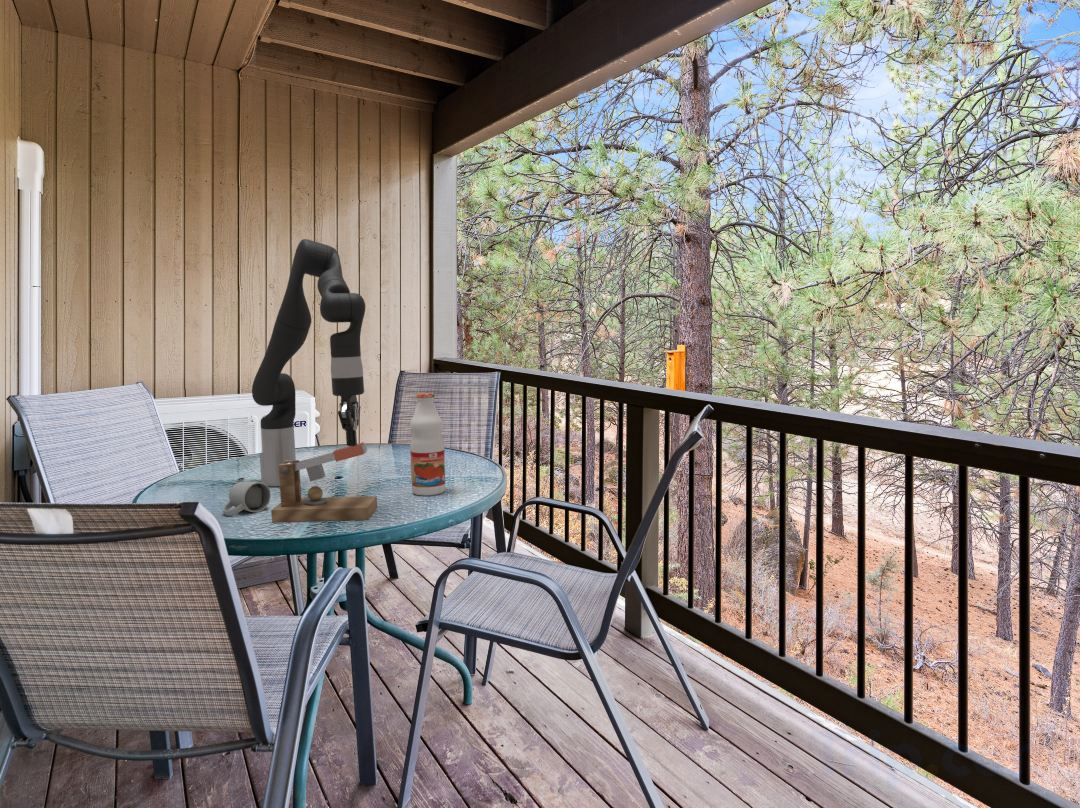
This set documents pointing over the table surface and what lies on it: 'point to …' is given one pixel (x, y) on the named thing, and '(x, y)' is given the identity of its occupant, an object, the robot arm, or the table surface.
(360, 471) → the table surface
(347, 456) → the lever
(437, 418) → the fruit juice
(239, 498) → the ceramic mug
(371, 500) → the base
